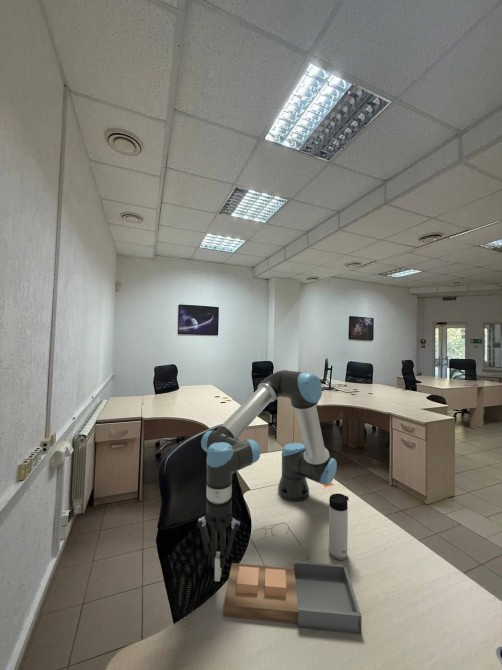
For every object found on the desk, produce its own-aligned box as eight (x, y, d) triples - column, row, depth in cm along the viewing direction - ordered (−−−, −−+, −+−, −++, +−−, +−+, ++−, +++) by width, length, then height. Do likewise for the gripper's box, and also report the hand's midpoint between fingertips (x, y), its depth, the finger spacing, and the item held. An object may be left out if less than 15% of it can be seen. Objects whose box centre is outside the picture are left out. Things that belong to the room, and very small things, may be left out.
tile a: (239, 574, 84) (239, 566, 84) (258, 576, 84) (259, 567, 84) (236, 592, 78) (236, 583, 78) (257, 594, 78) (257, 585, 78)
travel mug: (349, 562, 93) (350, 502, 93) (329, 559, 94) (329, 500, 95) (347, 548, 99) (347, 492, 100) (328, 545, 101) (328, 490, 101)
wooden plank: (231, 572, 89) (231, 563, 89) (294, 577, 87) (294, 568, 87) (223, 615, 75) (223, 604, 75) (298, 623, 73) (298, 611, 73)
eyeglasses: (286, 532, 108) (286, 519, 108) (308, 561, 94) (308, 546, 94) (248, 544, 102) (248, 530, 102) (266, 576, 88) (266, 560, 88)
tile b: (265, 576, 84) (265, 568, 84) (285, 578, 83) (285, 570, 83) (264, 594, 78) (264, 585, 78) (286, 596, 77) (286, 587, 77)
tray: (294, 575, 88) (294, 560, 88) (345, 579, 86) (345, 565, 86) (298, 627, 72) (298, 609, 72) (361, 633, 70) (361, 616, 71)
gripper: (194, 503, 79) (192, 586, 79) (238, 506, 78) (237, 590, 78) (201, 489, 87) (200, 565, 86) (242, 491, 85) (241, 568, 85)
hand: (218, 577), depth 82 cm, fingers closed
